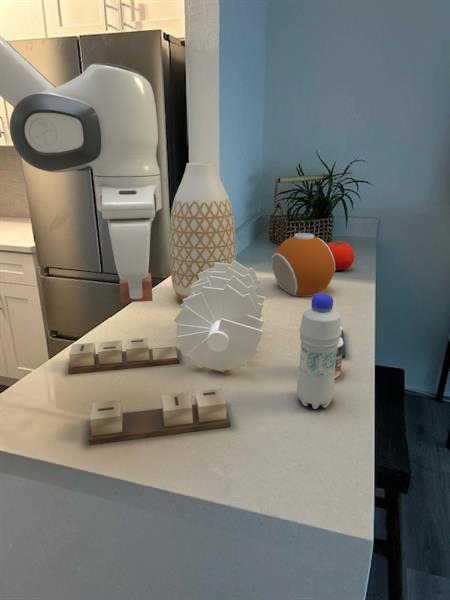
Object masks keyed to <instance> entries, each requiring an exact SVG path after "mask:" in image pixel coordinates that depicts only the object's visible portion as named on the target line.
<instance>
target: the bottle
mask: <svg viewBox="0 0 450 600" xmlns="http://www.w3.org/2000/svg"><path fill="white" fill-rule="evenodd" d="M333 307H334V299H333V297H332V296H331V294H330V295H329V294H327V293H318V294H316V295H312V298H311V307H309V308H306V309H305V310H304V311H303V312H302V318H301V322H300V326H299V340H300V356H299V372H298V378H297V384H296V385H297V386H296V394H297V398H298V400H299V401H301V404H302V405H303V406H305V407H308V406H309V405H311V406H312V409H313V410H317V409H319V407H320V406H321V408H323V409H325V408H327V407H329V405H330V403H331V402H332V400H333V398H334V394H335V378H334V373H335V363H336V353H337V344H338V343H339V341H340V335H341V329H340V326H341V315H340V313H339V312H337V311H336V310H334V309H333Z"/></svg>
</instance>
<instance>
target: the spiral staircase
mask: <svg viewBox="0 0 450 600" xmlns="http://www.w3.org/2000/svg"><path fill="white" fill-rule="evenodd" d="M198 277H199V278H200V279H199V280H198V281H197V282H195V283H194V284H192V285H191V286H192V287H191V291H190V292H191V294H190V295H189V297H188V298H185V299H183V300H182V303H181V304H180V308H182V309H180V311H179V312H178V313H177V315H176V317H174V319H173V322H175V324H177V325H176V341H175V343H176V344H178V346H179V349H180V352H181V355H186V356H187V357H188V358H189V359H190V360H191V361H192V362H193V363H194V364H195V365H197V366H198V367H199V368H200V369H202V368H204V367H205V368H208V369H211V370H214V371H218V372H221V373H225V371H227V370H234V369H240V368H241V369H242V368H246V367H247V365H246V363H248V362H249V361H251V359H252V358H254V357H255V356H256V355H257V354H259V353H260V352H261V350H260V349H259V348H258V346H259V342H260V340H261V338H262V335H263V333H264V331H263V330H262V327H263V325H264V323H265V320H263V319H261V317H263V316H264V315H263V313H262V311H263V307H264V301H265V298H266V297H265V296H262V295H259V294H257V292H256V291H257V290H258V287H257V284H259V283H260V282H261V281H260V280H259V278H258V275H257V273H256V270H255V269H254V267H253V266H252V267H250V268H247V267H246V266H243V264H241V263H239V262H238V261H237V260H236V261H235V260H234V261H233V262H232V264H225V263H215V262H214V268H213V267H212V268H210V269H208V270H206V271H203V272H201V273H199V274H198Z"/></svg>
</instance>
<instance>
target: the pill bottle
mask: <svg viewBox="0 0 450 600" xmlns="http://www.w3.org/2000/svg"><path fill="white" fill-rule="evenodd" d="M340 329H341V333H342V330H343V327H342V326H341V325H340ZM340 336H341V335H340ZM342 353H343V340H342V338H341V337H340V341H339V343H338V344H337V353H336V363H335V373H334V379H336V378H338V377H340V375H341V371H342V361H343V360H342V359H343V357H342Z"/></svg>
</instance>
